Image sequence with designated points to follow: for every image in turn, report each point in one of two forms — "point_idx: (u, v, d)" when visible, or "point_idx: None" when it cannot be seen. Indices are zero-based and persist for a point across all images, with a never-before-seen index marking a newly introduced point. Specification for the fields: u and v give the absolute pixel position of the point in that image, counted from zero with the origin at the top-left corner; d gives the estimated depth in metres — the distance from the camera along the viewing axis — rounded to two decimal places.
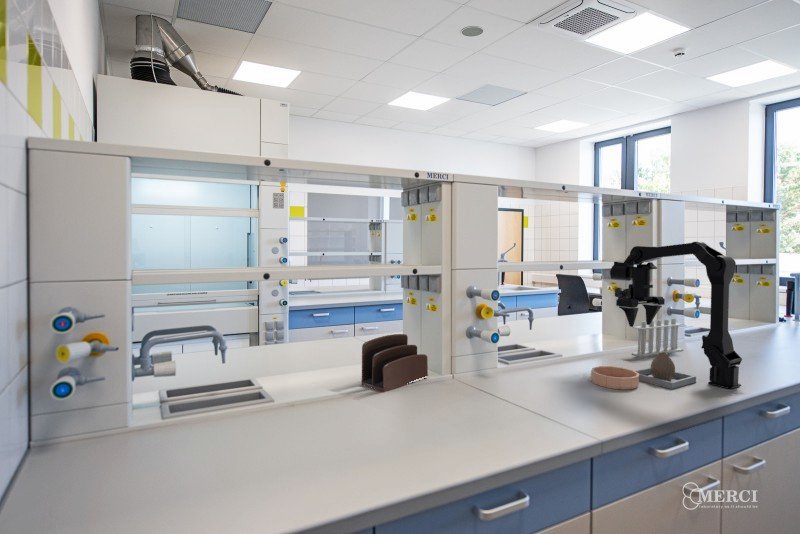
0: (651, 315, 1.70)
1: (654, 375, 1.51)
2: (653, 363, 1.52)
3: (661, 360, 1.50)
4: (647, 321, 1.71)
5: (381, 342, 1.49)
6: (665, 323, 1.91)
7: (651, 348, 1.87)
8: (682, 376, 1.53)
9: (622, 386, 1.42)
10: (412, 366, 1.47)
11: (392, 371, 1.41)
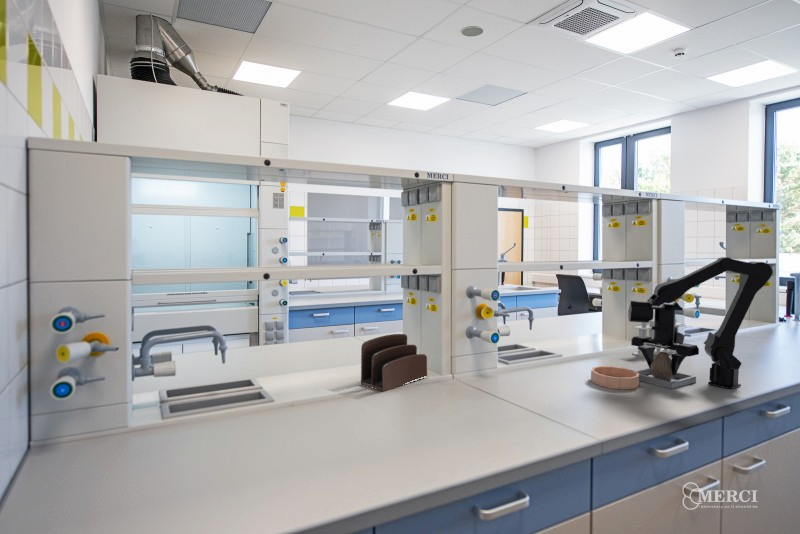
0: None
1: (654, 375, 1.51)
2: (653, 363, 1.52)
3: (661, 360, 1.50)
4: None
5: (380, 342, 1.49)
6: None
7: None
8: (682, 376, 1.53)
9: (622, 386, 1.42)
10: (411, 366, 1.47)
11: (392, 371, 1.41)
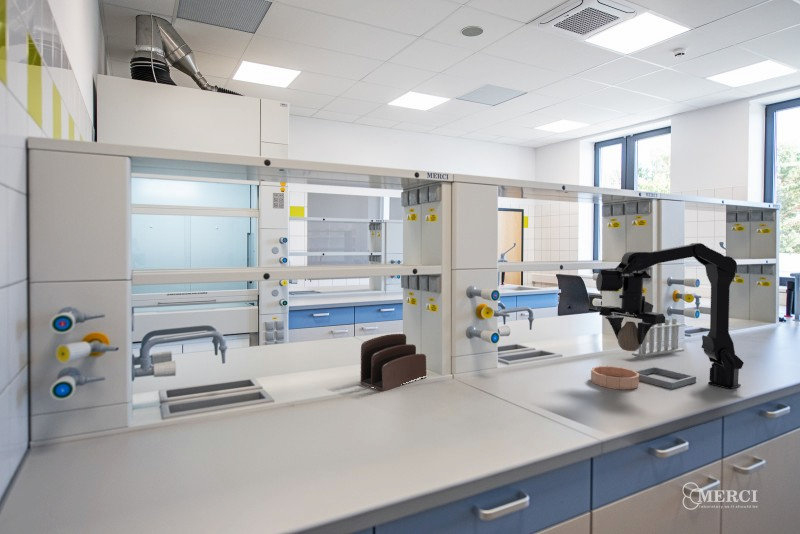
0: None
1: (620, 344, 1.49)
2: (620, 332, 1.49)
3: (628, 329, 1.47)
4: None
5: (380, 342, 1.50)
6: (666, 323, 1.91)
7: (652, 347, 1.87)
8: (682, 376, 1.53)
9: (622, 386, 1.42)
10: (411, 365, 1.48)
11: (391, 371, 1.41)
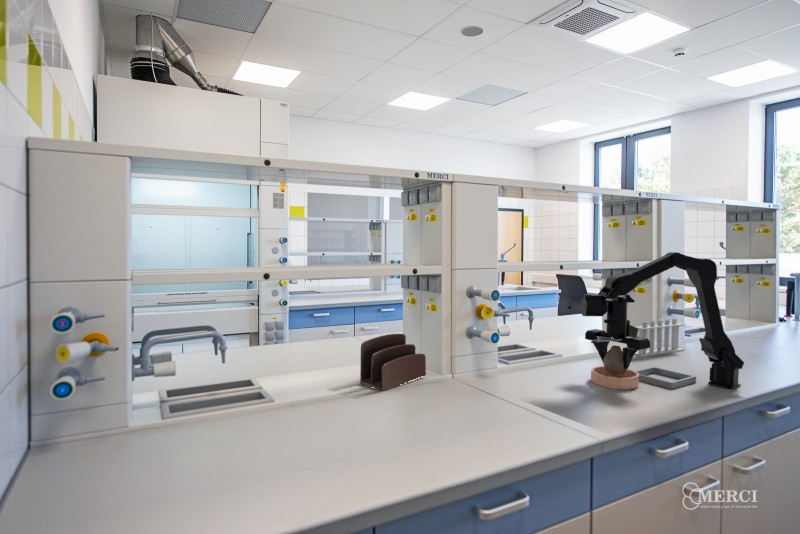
0: None
1: (606, 369, 1.48)
2: (605, 357, 1.48)
3: (613, 354, 1.46)
4: None
5: (379, 341, 1.50)
6: (666, 323, 1.91)
7: (652, 347, 1.87)
8: (682, 376, 1.53)
9: (622, 386, 1.42)
10: (410, 365, 1.48)
11: (391, 371, 1.42)
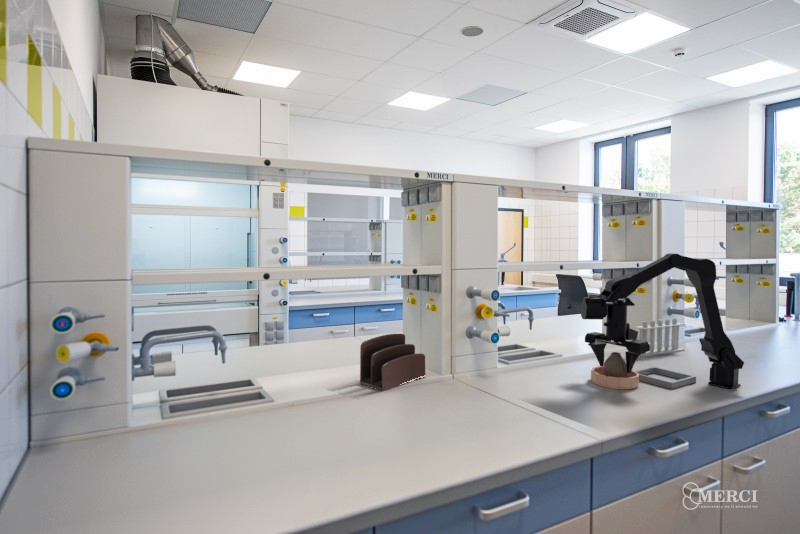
0: None
1: None
2: (605, 363, 1.48)
3: (613, 360, 1.47)
4: None
5: (379, 341, 1.50)
6: (666, 323, 1.91)
7: (652, 347, 1.87)
8: (682, 376, 1.53)
9: (622, 386, 1.42)
10: (410, 365, 1.48)
11: (391, 370, 1.42)
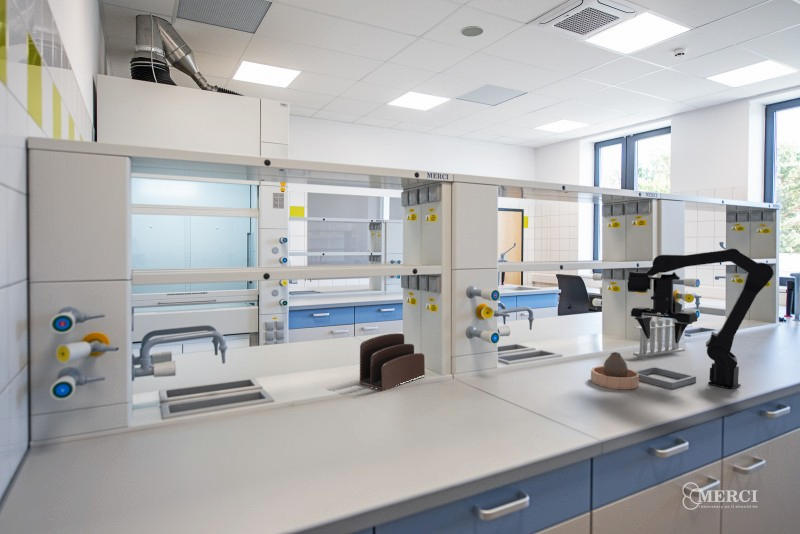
0: None
1: None
2: (605, 363, 1.48)
3: (613, 360, 1.47)
4: None
5: (378, 341, 1.50)
6: (666, 323, 1.91)
7: (653, 347, 1.87)
8: (682, 376, 1.53)
9: (622, 386, 1.42)
10: (409, 365, 1.48)
11: (391, 370, 1.42)
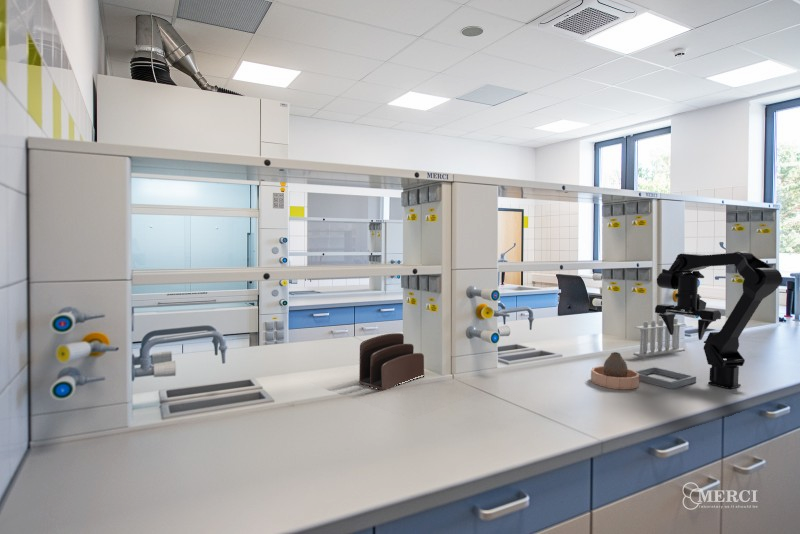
0: None
1: None
2: (605, 363, 1.48)
3: (613, 360, 1.47)
4: None
5: (378, 341, 1.50)
6: None
7: (653, 347, 1.87)
8: (682, 376, 1.53)
9: (622, 386, 1.42)
10: (409, 365, 1.48)
11: (390, 370, 1.42)
